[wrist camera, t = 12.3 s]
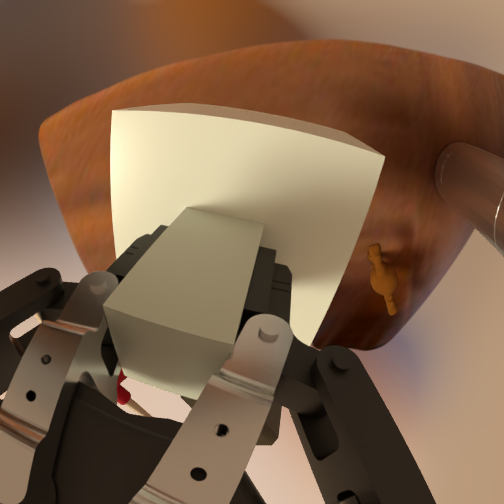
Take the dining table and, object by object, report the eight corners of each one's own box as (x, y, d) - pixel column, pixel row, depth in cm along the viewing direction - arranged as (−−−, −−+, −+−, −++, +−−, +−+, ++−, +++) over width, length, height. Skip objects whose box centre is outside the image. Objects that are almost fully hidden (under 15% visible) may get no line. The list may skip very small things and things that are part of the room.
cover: (344, 131, 16) (479, 230, 3) (305, 265, 22) (302, 453, 9) (187, 102, 16) (-10, 143, 4) (176, 236, 22) (72, 386, 9)
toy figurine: (395, 284, 38) (407, 314, 32) (374, 293, 39) (383, 323, 34) (375, 219, 34) (390, 244, 28) (350, 229, 35) (360, 256, 29)
